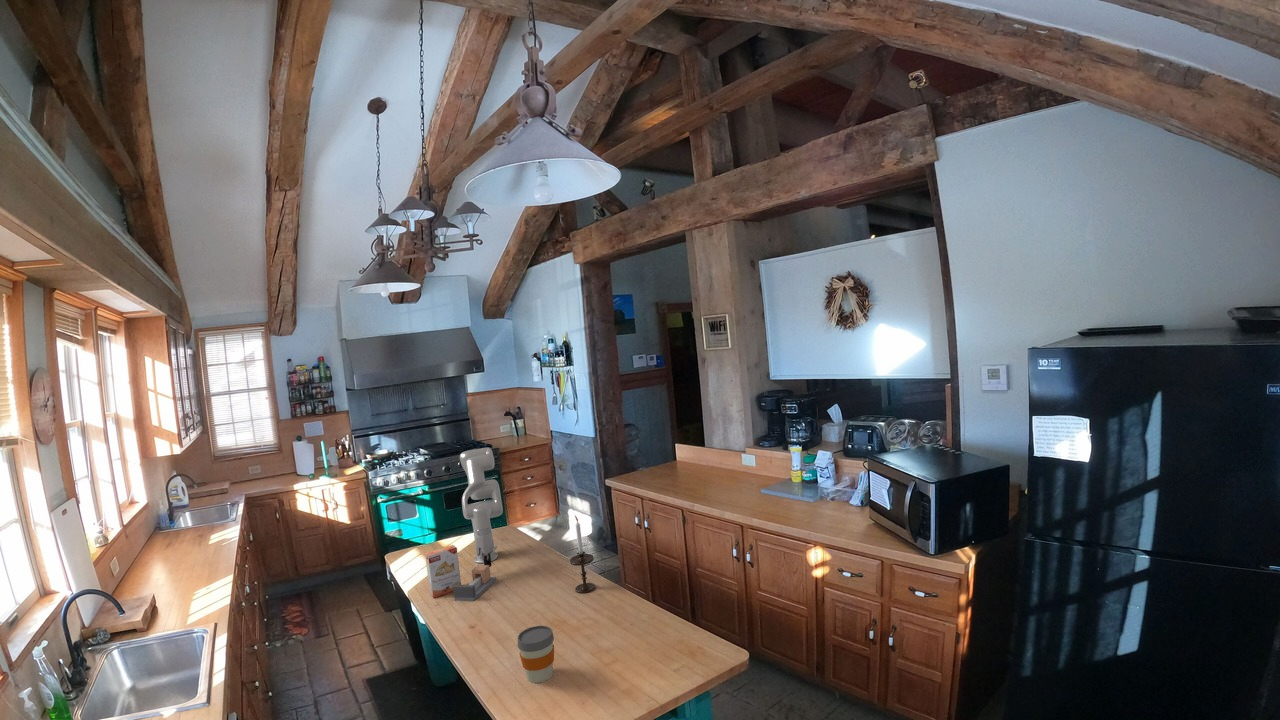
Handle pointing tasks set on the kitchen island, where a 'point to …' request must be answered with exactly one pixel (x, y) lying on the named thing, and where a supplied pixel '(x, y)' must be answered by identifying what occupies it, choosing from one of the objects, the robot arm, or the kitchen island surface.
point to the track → (479, 590)
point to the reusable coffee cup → (537, 653)
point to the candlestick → (582, 564)
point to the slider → (482, 570)
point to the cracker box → (442, 570)
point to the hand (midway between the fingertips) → (488, 566)
